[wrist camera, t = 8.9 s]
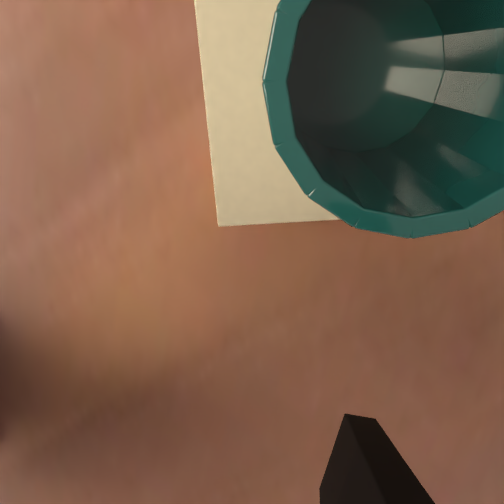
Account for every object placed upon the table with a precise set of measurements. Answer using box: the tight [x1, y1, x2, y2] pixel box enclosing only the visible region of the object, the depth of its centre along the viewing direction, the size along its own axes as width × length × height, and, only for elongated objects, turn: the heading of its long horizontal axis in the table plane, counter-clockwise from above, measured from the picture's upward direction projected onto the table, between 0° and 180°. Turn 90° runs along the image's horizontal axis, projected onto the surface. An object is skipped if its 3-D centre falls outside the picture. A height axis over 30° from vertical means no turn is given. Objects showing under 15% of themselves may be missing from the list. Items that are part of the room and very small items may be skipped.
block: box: [194, 0, 341, 227], centre depth 15 cm, size 9×9×3 cm
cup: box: [262, 0, 504, 238], centre depth 10 cm, size 5×5×6 cm
